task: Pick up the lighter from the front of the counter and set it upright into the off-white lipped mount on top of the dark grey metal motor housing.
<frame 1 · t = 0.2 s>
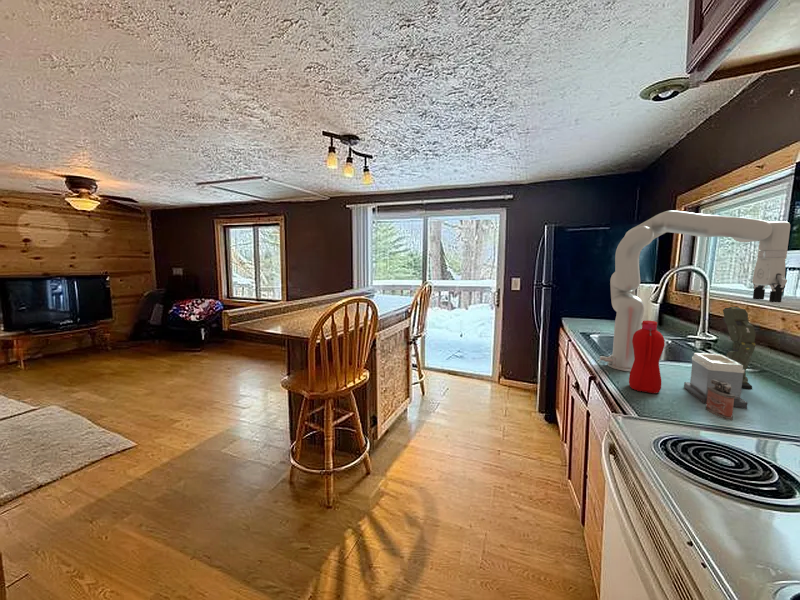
hand: (766, 300, 136), 31 cm above the counter, tool pointing down, fingers open, 9 cm apart
lighter: (718, 414, 108), on the counter
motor: (713, 397, 122), on the counter
mechanical leg: (732, 383, 136), on the counter
water bottle: (644, 390, 128), on the counter
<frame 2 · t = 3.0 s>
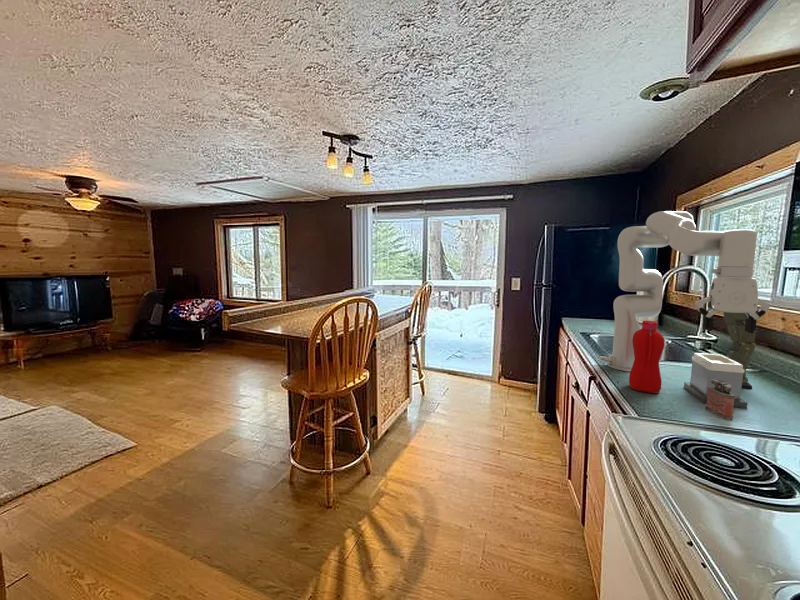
hand: (728, 331, 105), 26 cm above the counter, tool pointing down, fingers open, 9 cm apart
nothing on the counter moved.
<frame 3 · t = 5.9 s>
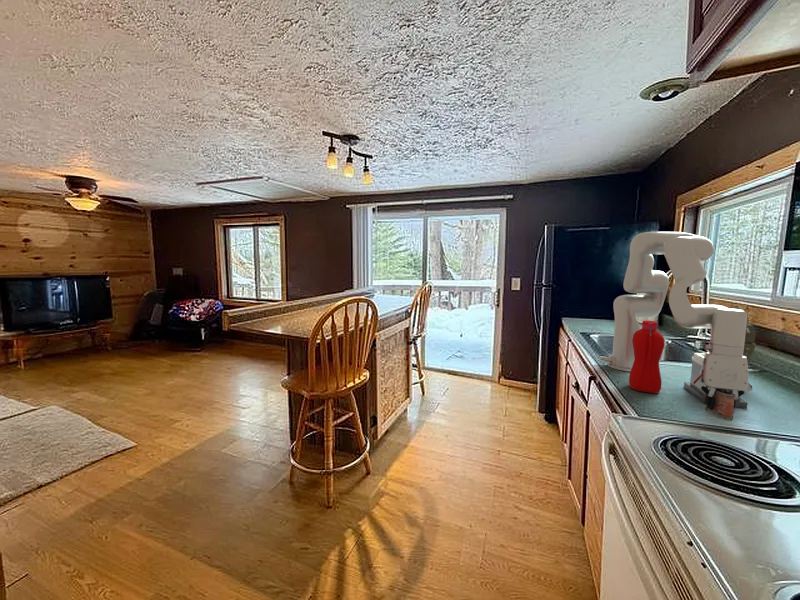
hand: (719, 408, 108), 2 cm above the counter, tool pointing down, fingers closed on lighter, 3 cm apart
lighter: (718, 414, 108), on the counter, touching gripper
everything else where it was.
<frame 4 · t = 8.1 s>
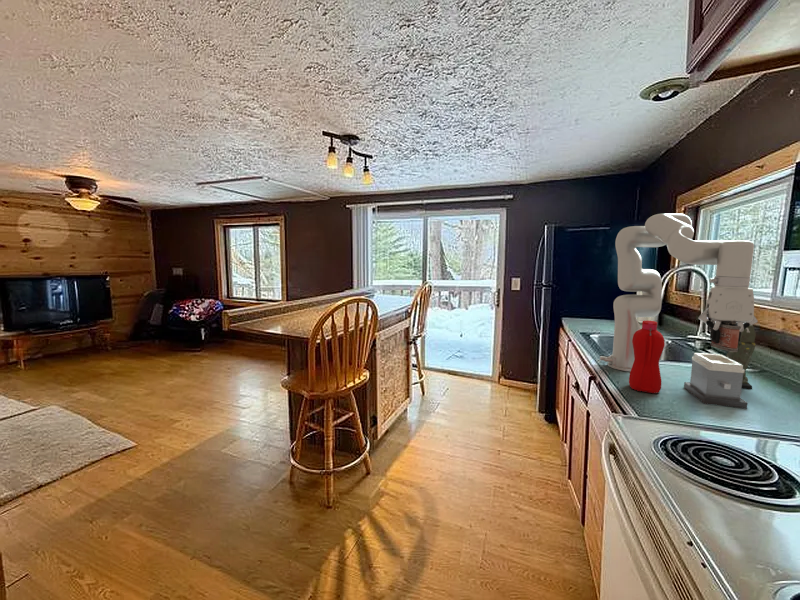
hand: (724, 342, 108), 22 cm above the counter, tool pointing down, fingers closed on lighter, 4 cm apart
lighter: (723, 348, 108), point 20 cm above the counter, touching gripper
everything else where it was.
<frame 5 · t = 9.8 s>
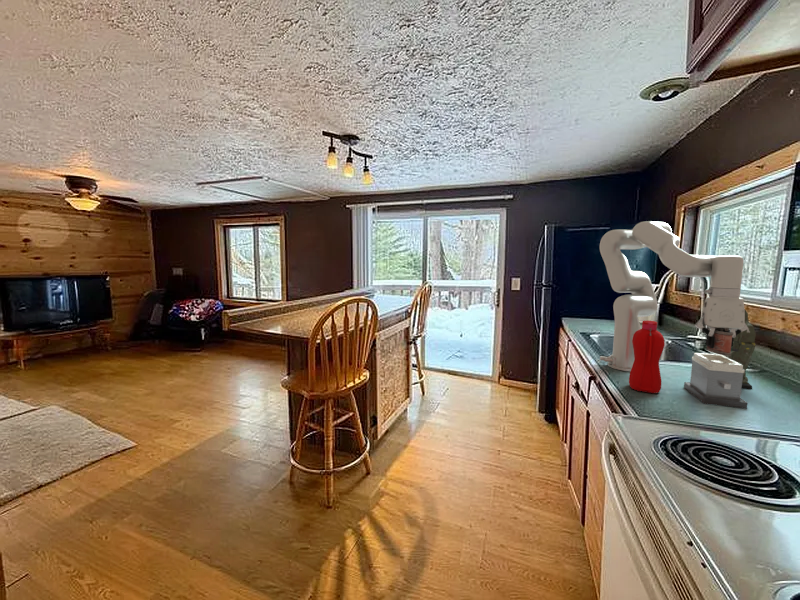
hand: (718, 347, 119), 17 cm above the counter, tool pointing down, fingers closed on lighter, 4 cm apart
lighter: (718, 353, 120), point 15 cm above the counter, touching gripper
everything else where it was.
when the fingers open (16 cm above the counter, at t = 10.4 s): lighter drops 2 cm, resting on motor.
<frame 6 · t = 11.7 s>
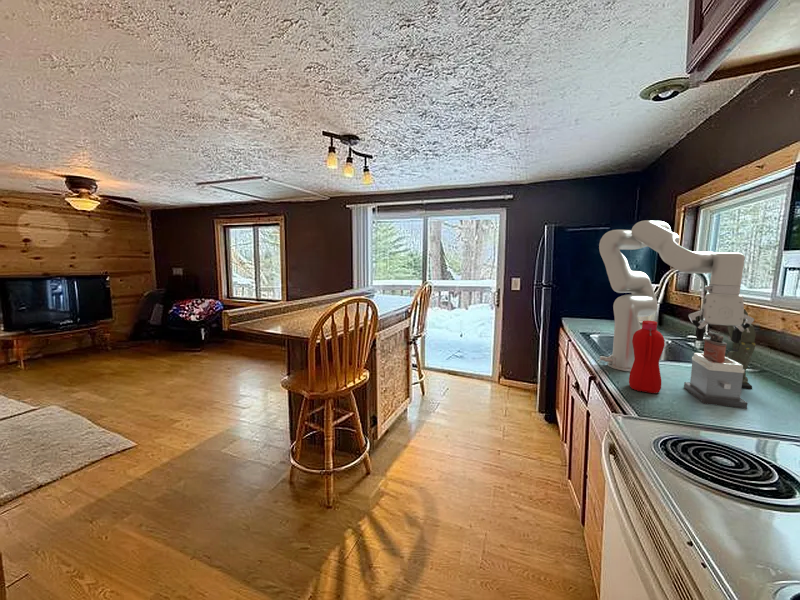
hand: (717, 340, 120), 19 cm above the counter, tool pointing down, fingers open, 9 cm apart
lighter: (713, 363, 121), point 12 cm above the counter, touching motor
everything else where it was.
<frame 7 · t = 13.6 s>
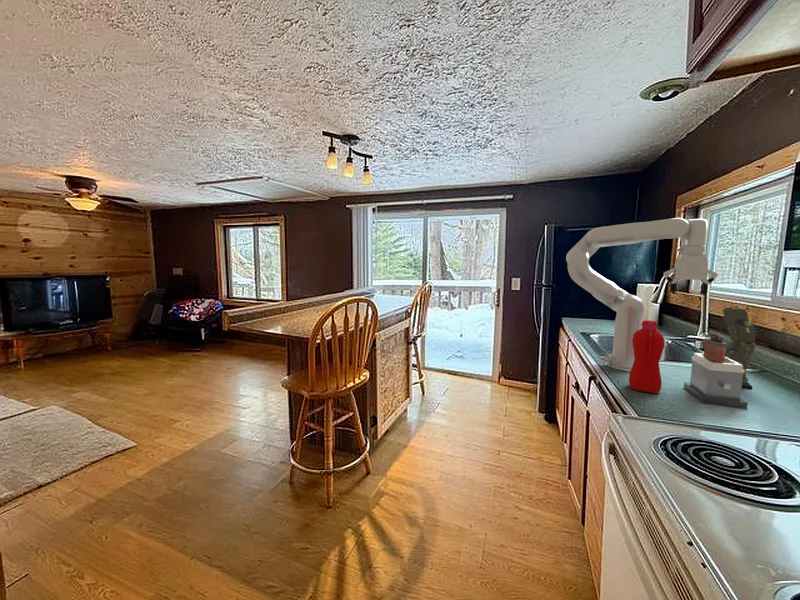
hand: (687, 293, 144), 33 cm above the counter, tool pointing down, fingers open, 9 cm apart
nothing on the counter moved.
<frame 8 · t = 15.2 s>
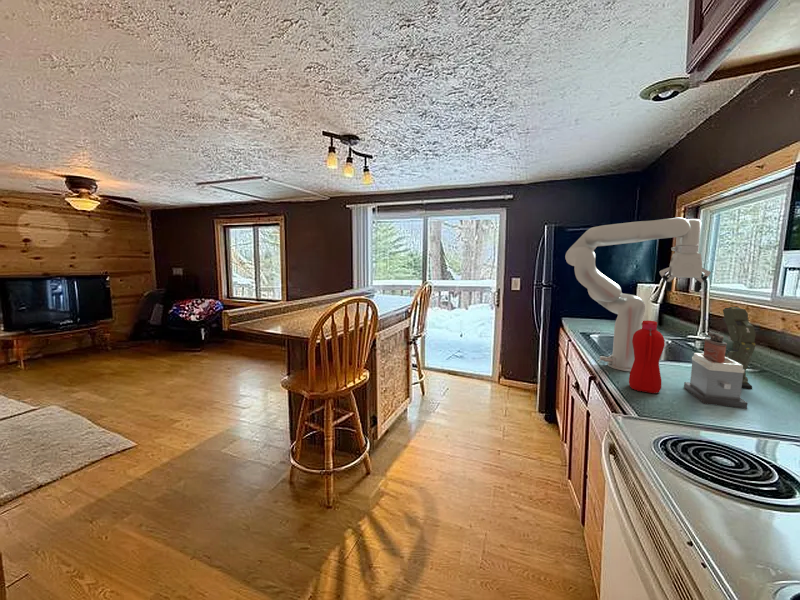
hand: (682, 291, 149), 33 cm above the counter, tool pointing down, fingers open, 9 cm apart
nothing on the counter moved.
at the end: lighter 0.9 cm off-centre on the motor, point 11.8 cm above the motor's base; lighter tilted 0°; the gripper is holding nothing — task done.
